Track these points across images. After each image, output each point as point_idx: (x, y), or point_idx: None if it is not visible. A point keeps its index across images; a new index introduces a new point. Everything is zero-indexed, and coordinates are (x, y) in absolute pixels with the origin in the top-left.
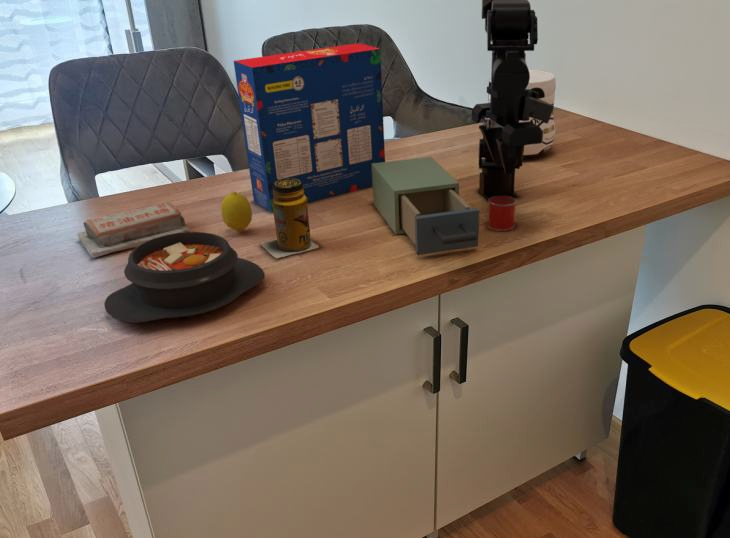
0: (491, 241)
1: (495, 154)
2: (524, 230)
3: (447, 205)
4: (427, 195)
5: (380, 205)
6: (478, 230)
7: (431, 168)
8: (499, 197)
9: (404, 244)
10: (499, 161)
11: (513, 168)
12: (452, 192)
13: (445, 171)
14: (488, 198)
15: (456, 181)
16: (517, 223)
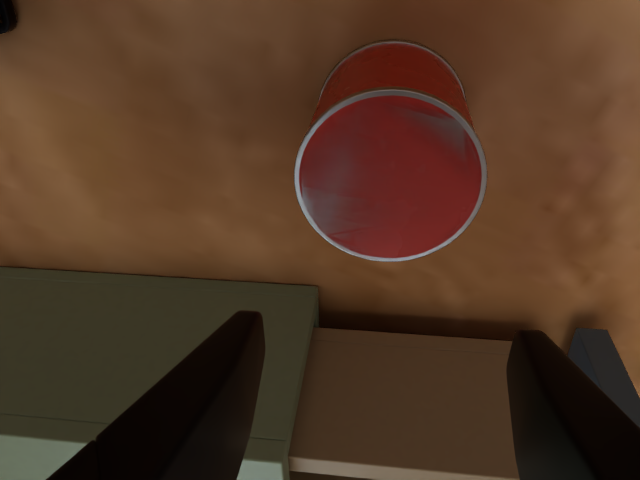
0: (542, 231)
1: (228, 471)
2: (508, 11)
3: None
4: None
5: None
6: (633, 388)
7: (12, 475)
8: (334, 180)
9: None
10: (254, 368)
11: (582, 372)
12: (336, 471)
13: (67, 447)
14: (4, 32)
15: (253, 464)
16: (392, 6)
